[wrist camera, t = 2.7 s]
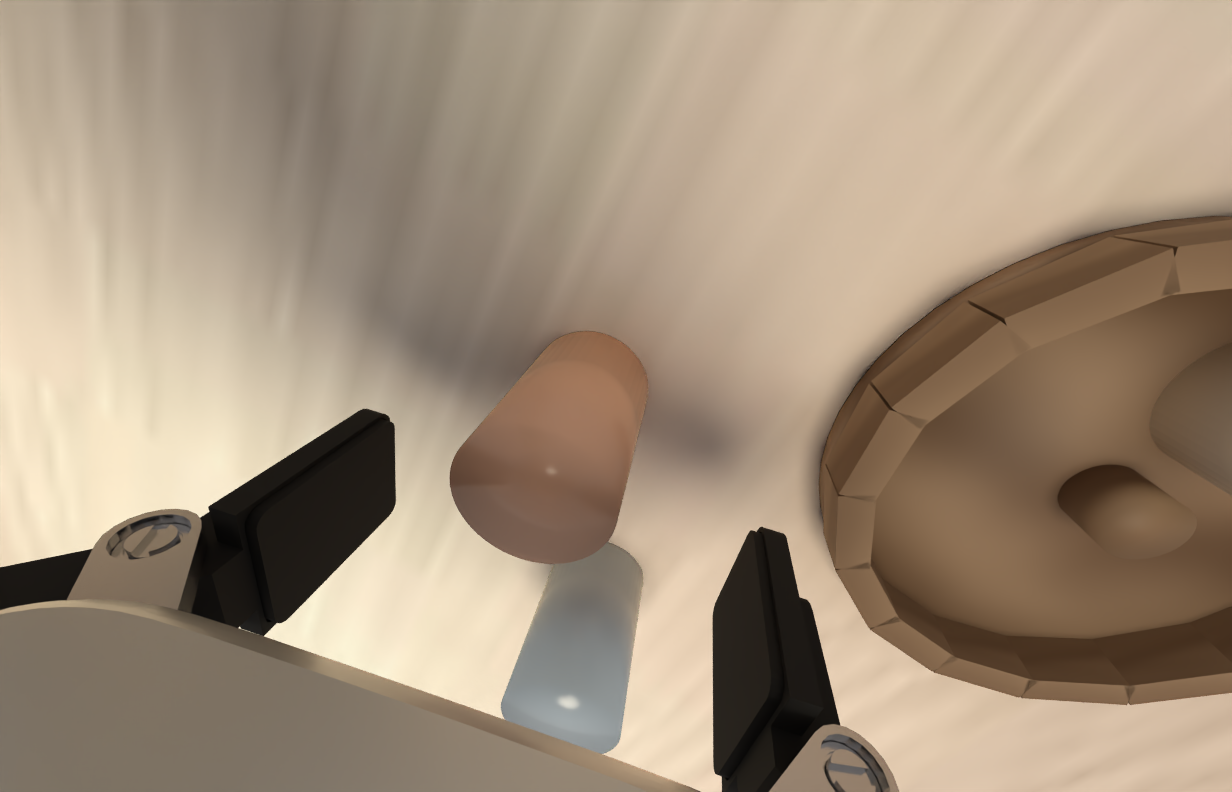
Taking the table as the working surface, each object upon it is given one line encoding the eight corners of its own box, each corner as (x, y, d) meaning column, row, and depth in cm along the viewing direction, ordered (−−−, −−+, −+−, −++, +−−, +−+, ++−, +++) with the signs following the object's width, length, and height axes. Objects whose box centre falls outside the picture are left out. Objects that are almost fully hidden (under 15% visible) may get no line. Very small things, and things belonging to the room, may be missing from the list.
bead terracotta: (543, 317, 15) (451, 403, 9) (661, 349, 14) (636, 455, 9) (529, 418, 16) (448, 537, 11) (633, 447, 16) (599, 582, 11)
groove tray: (979, 148, 11) (1048, 144, 8) (1671, 307, 10) (1936, 346, 8) (755, 567, 18) (762, 621, 16) (1140, 679, 17) (1202, 751, 15)
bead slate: (561, 528, 19) (506, 669, 14) (653, 555, 19) (633, 709, 13) (549, 589, 21) (496, 733, 15) (632, 614, 21) (606, 768, 15)
